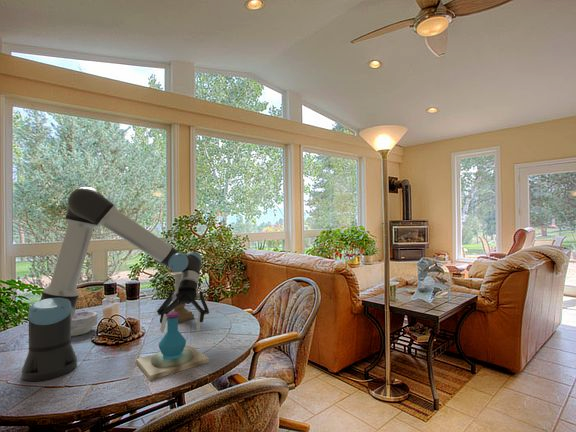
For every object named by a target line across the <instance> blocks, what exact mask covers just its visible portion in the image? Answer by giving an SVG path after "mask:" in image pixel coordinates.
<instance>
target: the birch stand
mask: <svg viewBox="0 0 576 432" xmlns="http://www.w3.org/2000/svg"><path fill="white" fill-rule="evenodd" d="M135 363H136V365H137V366H138V367H139V368H140V370H141V371H142V372H143V373H144V375H145V376H146V377H147V379H148V380H149V381H153V380H157V379H159V378H162V377H165V376H168V375H169V376H170V375H171V374H175V373H178V372H183V371H185V370H188V369H192V368H194V367H198V366H200V365H205V364H207V363H209V357H207V356H206V355H205V354H203V353H202V352H201V351H200V350H198V349H197V348H195V347H194V346H193V345H191V344H189V345H185V347H184V350H183V352H182V356H181V357H179V358H176V359H170V360H168V359H164V358H163V354H161V351H160V350H159V351H158V352H156V353H154V354H151V355H146V356H143V357H139V358H136V362H135Z"/></svg>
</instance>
